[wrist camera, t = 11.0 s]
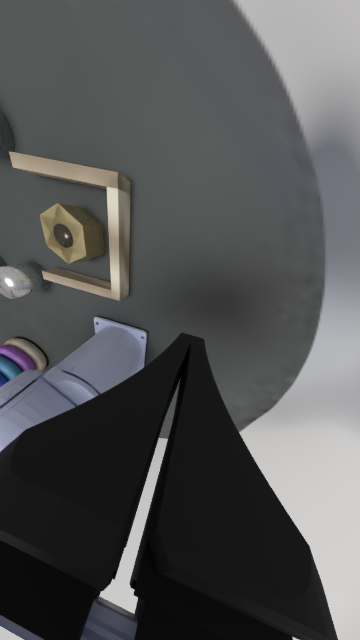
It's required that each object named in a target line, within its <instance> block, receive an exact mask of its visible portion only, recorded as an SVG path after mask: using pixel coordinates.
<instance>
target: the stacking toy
mask: <svg viewBox="0 0 360 640" xmlns="http://www.w3.org/2000/svg"><path fill="white" fill-rule="evenodd" d="M46 364H47V361H46V358H45V356H44V354H43V353H42V352H41V351H40V350H39V349H38V348H37V347H36V346H35V345H34V344H32V343H31V342H29V341H27V340H24V339H19V338H14V339H10V340H8V341H7V342H6V343H5V344H4V345H2V346H0V387H1V386H3V385H4V384H6V383H7V382H9V381H10V380H12V379H13V378H15V377H16V376H18V375H19V374H21V373H22V372H24V371H26V370H36V369H39V370H40V371H42V370H43V369H44V368H45V367H46Z"/></svg>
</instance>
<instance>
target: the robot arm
mask: <svg viewBox="0 0 360 640" xmlns="http://www.w3.org/2000/svg"><path fill="white" fill-rule="evenodd" d="M94 325H95V333H96V334H95V335H94V336H93V337H92V338H90V339H89V340H88V341H87V342H85V343H84V344H83V345H81V346H80V347H79V348H78V349H76V350H75V351H74V352H73V353H71V354H70V355H69V356H68V357H66V358H65V359H64V360H63V361H61V362H60V363H59V364H57V365H56V366H55V367H53V368H51V369H50V370H49V371H47V372H46V373H45V374H43V375H42V376H40V375H41V374H42V373H43V372H42V371H40V370H39V369H36V370H26V371H24V372H22V373H21V374H19V375H18V376H16V377H15V378H13V379H12V380H10V381H9V382H7V383H6V384H4V385H3V386H1V387H0V626H2V627H3V628H5V629H7V630H8V631H10V632H12V633H14V634H15V635H17V636H19V637H21V638H22V639H24V640H293V639H292V637H295V638H297V639H300V640H338V638H337V635H336V631H335V628H334V624H333V621H332V617H331V614H330V611H329V607H328V603H327V599H326V596H325V593H324V589H323V586H322V583H321V579H320V576H319V574H318V571H317V568H316V565H315V562H314V560H313V556H312V553H311V550H310V547H309V545H308V544H307V542H306V541H305V539H304V537H303V536H302V534H301V533H300V532H299V530H298V528H297V527H296V525H295V524H294V522H293V521H292V519H291V518H290V516H289V515H288V514H287V512H286V510H285V509H284V507H283V506H282V504H281V502H280V501H279V499H278V498H277V496H276V495H275V493H274V491H273V490H272V488H271V487H270V485H269V484H268V482H267V480H266V479H265V477H264V475H263V474H262V472H261V470H260V469H259V467H258V465H257V464H256V462H255V460H254V459H253V457H252V455H251V454H250V452H249V450H248V448H247V446H246V445H245V443H244V441H243V439H242V437H241V435H240V434H239V432H238V430H237V428H236V426H235V424H234V423H233V421H232V419H231V416H230V414H229V412H228V410H227V408H226V406H225V404H224V402H223V400H222V397H221V395H220V393H219V390H218V388H217V385H216V382H215V380H214V377H213V374H212V371H211V368H210V364H209V361H208V357H207V353H206V348H205V341H204V339H202V338H199V337H195V336H192V335H188V334H185V333H181V334H180V335H179V336H178V337H177V339H176V340H175V341H174V342H173V343H172V344H171V345H170V346H169V347H168V348H167V349H166V350H165V351H164V352H163V353H161V354H160V355H159V356H158V357H157V358H155V359H154V360H153V361H152V362H150V363H149V364H148V365H147V366H145V367H144V363H145V353H146V342H147V332H146V331H144V330H141V329H137V328H134V327H131V326H127V325H124V324H121V323H117V322H114V321H111V320H108V319H104V318H101V317H95V318H94ZM142 336H143V337H142ZM180 378H181V379H180ZM179 380H180V384H179V390H178V395H177V401H176V407H175V412H174V417H173V422H172V426H171V430H170V434H169V438H168V442H167V446H166V449H165V453H164V457H163V460H162V464H161V468H160V472H159V475H158V479H157V483H156V487H155V490H154V494H153V498H152V502H151V505H150V509H149V513H148V516H147V520H146V524H145V528H144V531H143V535H142V539H141V543H140V546H139V550H138V554H137V557H136V561H135V565H134V569H133V572H132V576H131V580H130V586H131V588H133V589H135V591H134V595H135V596H137V597H138V602H137V606H136V610H135V614H133V613H131V612H129V611H127V610H125V609H123V608H121V607H119V606H117V605H115V604H113V603H111V602H109V601H107V600H105V599H103V598H101V597H99V595H100V592H101V591H103V590H104V589H105V588H106V587H107V586H108V585H109V584H110V583H111V581H112V579H115V577H116V573H117V570H118V567H119V563H120V560H121V557H122V554H123V551H124V548H125V547H126V544H127V541H128V538H129V535H130V531H131V528H132V525H133V521H134V518H135V515H136V511H137V508H138V505H139V501H140V498H141V495H142V491H143V488H144V485H145V481H146V478H147V475H148V472H149V468H150V465H151V462H152V458H153V455H154V451H155V448H156V445H157V441H158V438H159V435H160V432H161V429H162V425H163V422H164V419H165V416H166V414H167V411H168V408H169V406H170V403H171V401H172V398H173V396H174V393H175V391H176V388H177V386H178V383H179Z"/></svg>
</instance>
